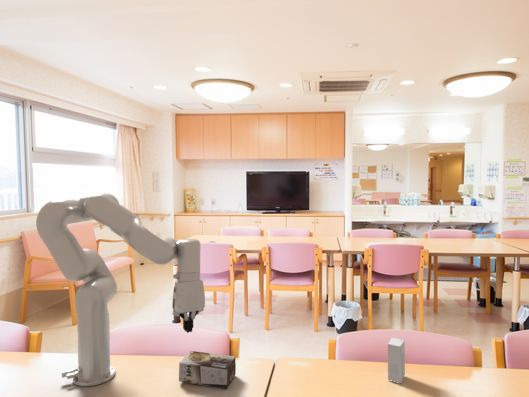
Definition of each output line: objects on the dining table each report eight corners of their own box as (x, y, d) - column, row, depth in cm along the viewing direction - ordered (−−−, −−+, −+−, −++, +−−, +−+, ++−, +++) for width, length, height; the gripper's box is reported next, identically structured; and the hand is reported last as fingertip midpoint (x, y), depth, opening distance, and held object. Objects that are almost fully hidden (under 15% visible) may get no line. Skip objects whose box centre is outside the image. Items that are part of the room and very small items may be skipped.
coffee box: (178, 382, 116) (227, 390, 113) (178, 362, 116) (227, 369, 113) (190, 368, 125) (236, 375, 122) (190, 349, 125) (236, 356, 121)
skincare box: (391, 373, 123) (391, 337, 123) (405, 376, 121) (405, 339, 120) (387, 381, 118) (387, 343, 117) (401, 384, 115) (401, 346, 115)
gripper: (171, 281, 116) (170, 339, 117) (213, 275, 125) (213, 330, 125) (163, 276, 122) (162, 331, 123) (204, 271, 131) (203, 323, 131)
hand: (188, 330), depth 124 cm, fingers closed
